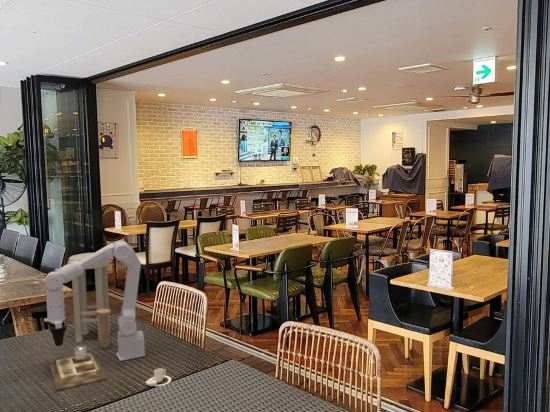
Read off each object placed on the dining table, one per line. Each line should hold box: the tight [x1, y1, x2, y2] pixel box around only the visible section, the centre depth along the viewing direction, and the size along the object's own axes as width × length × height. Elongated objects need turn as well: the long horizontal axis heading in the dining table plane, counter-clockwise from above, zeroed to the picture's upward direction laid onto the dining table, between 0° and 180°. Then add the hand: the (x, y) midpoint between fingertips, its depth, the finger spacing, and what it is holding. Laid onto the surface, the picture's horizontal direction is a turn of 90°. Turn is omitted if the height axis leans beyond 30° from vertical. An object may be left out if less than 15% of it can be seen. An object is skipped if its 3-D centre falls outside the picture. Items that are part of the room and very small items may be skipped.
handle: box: [95, 308, 112, 349], centre depth 194 cm, size 5×6×15 cm
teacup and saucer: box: [145, 368, 172, 387], centre depth 164 cm, size 9×8×4 cm
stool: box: [68, 252, 111, 343], centre depth 205 cm, size 16×16×35 cm
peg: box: [74, 344, 88, 364], centre depth 176 cm, size 4×4×7 cm
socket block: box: [49, 352, 108, 392], centre depth 171 cm, size 16×22×3 cm
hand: (57, 342), depth 176 cm, fingers open, 7 cm apart
